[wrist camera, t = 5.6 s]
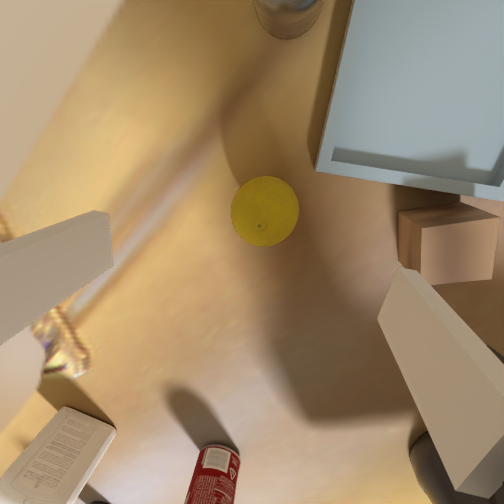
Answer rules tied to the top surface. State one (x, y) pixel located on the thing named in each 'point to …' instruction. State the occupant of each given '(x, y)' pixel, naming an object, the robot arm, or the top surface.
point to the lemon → (264, 211)
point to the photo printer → (57, 460)
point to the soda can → (214, 476)
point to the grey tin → (287, 16)
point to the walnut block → (448, 242)
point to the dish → (420, 97)
